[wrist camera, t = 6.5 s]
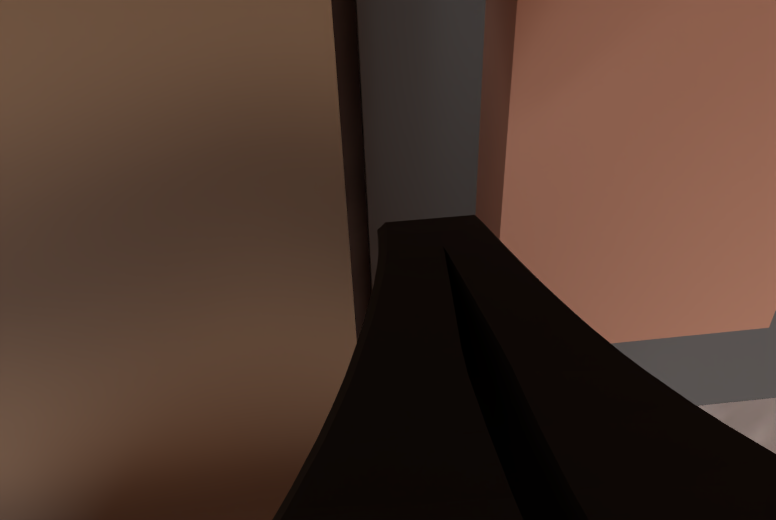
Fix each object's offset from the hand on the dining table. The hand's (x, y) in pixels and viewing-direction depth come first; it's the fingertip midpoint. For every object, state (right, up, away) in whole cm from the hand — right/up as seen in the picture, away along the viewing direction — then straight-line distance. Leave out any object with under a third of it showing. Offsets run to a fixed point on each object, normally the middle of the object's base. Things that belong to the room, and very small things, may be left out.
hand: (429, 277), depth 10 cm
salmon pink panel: (+4, +2, +2) cm, 5 cm away
